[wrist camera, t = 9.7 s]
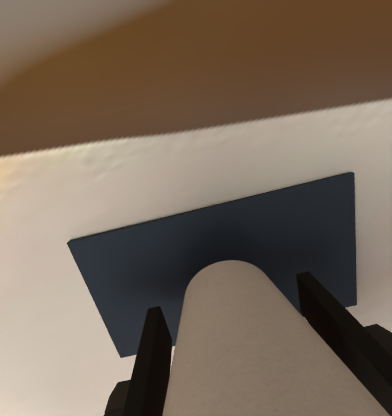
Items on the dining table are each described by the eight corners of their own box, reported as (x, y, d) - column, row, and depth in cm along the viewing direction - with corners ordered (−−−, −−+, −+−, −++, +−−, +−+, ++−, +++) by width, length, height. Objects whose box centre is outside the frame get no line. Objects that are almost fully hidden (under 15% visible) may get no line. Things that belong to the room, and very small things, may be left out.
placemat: (350, 171, 14) (354, 172, 14) (353, 301, 17) (357, 305, 17) (69, 240, 15) (66, 242, 14) (121, 353, 18) (120, 358, 17)
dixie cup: (315, 311, 14) (611, 691, 4) (209, 367, 15) (251, 775, 5) (253, 212, 12) (577, 531, 2) (134, 287, 13) (-28, 731, 3)
